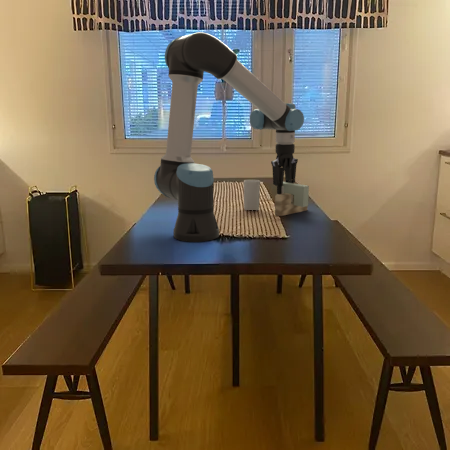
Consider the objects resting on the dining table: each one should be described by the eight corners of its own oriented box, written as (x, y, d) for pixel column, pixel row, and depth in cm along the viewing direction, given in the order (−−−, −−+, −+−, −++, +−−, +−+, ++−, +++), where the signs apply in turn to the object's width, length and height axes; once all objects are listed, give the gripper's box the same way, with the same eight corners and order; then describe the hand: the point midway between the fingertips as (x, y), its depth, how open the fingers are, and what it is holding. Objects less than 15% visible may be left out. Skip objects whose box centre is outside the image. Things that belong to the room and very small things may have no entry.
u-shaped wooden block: (280, 216, 181) (281, 195, 179) (275, 214, 184) (275, 194, 182) (307, 210, 191) (308, 191, 189) (301, 208, 194) (302, 190, 192)
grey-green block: (303, 206, 180) (303, 186, 178) (277, 201, 191) (277, 182, 189) (308, 205, 182) (308, 185, 180) (282, 200, 193) (282, 181, 191)
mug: (259, 211, 190) (259, 182, 187) (242, 210, 191) (242, 182, 188) (260, 206, 200) (260, 178, 197) (244, 205, 200) (245, 178, 197)
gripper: (277, 145, 176) (276, 205, 182) (305, 142, 186) (303, 200, 192) (264, 144, 182) (263, 202, 188) (291, 141, 192) (290, 197, 198)
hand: (283, 201), depth 190 cm, fingers closed on grey-green block, 3 cm apart
